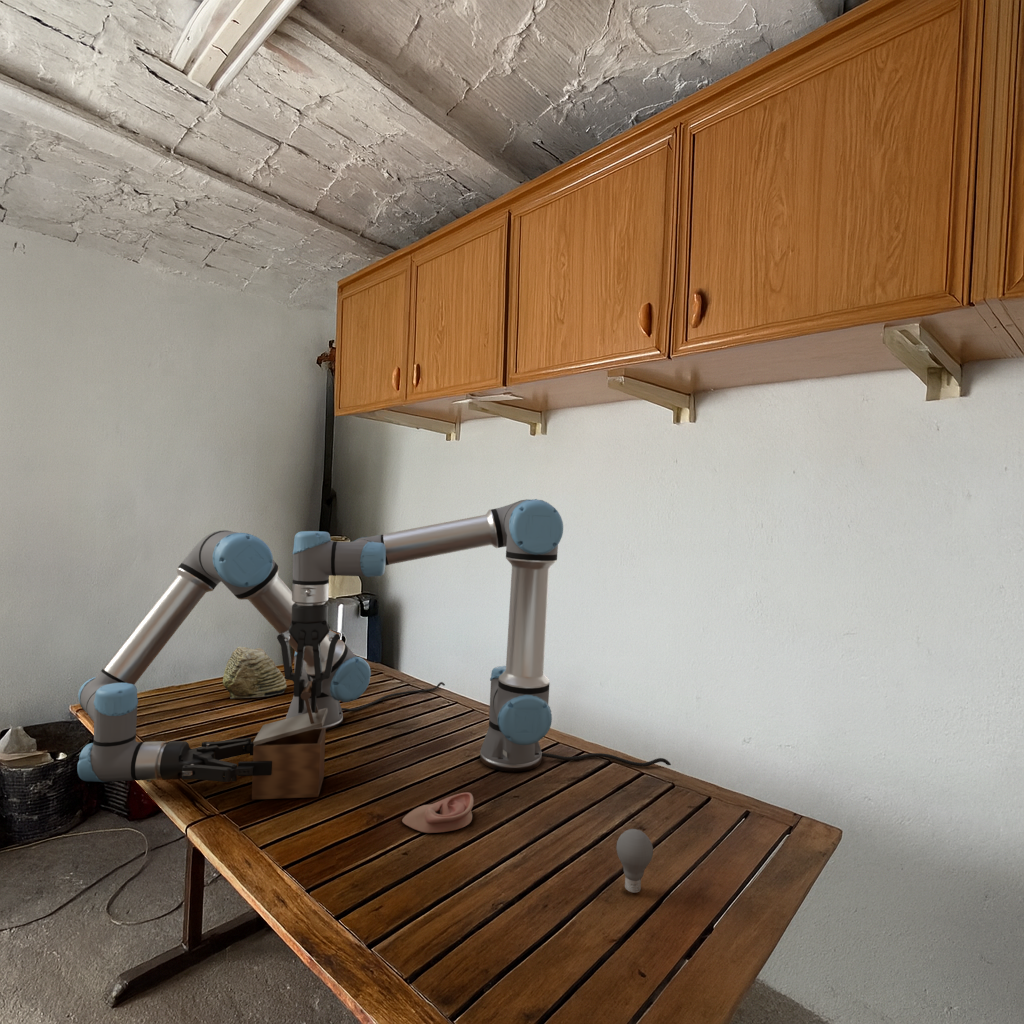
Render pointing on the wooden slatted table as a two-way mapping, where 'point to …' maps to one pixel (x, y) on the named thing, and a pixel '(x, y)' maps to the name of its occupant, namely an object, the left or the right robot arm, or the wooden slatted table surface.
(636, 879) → the light bulb
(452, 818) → the anatomical model
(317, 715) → the lid
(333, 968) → the wooden slatted table surface
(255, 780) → the chest
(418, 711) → the wooden slatted table surface
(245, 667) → the fossil
